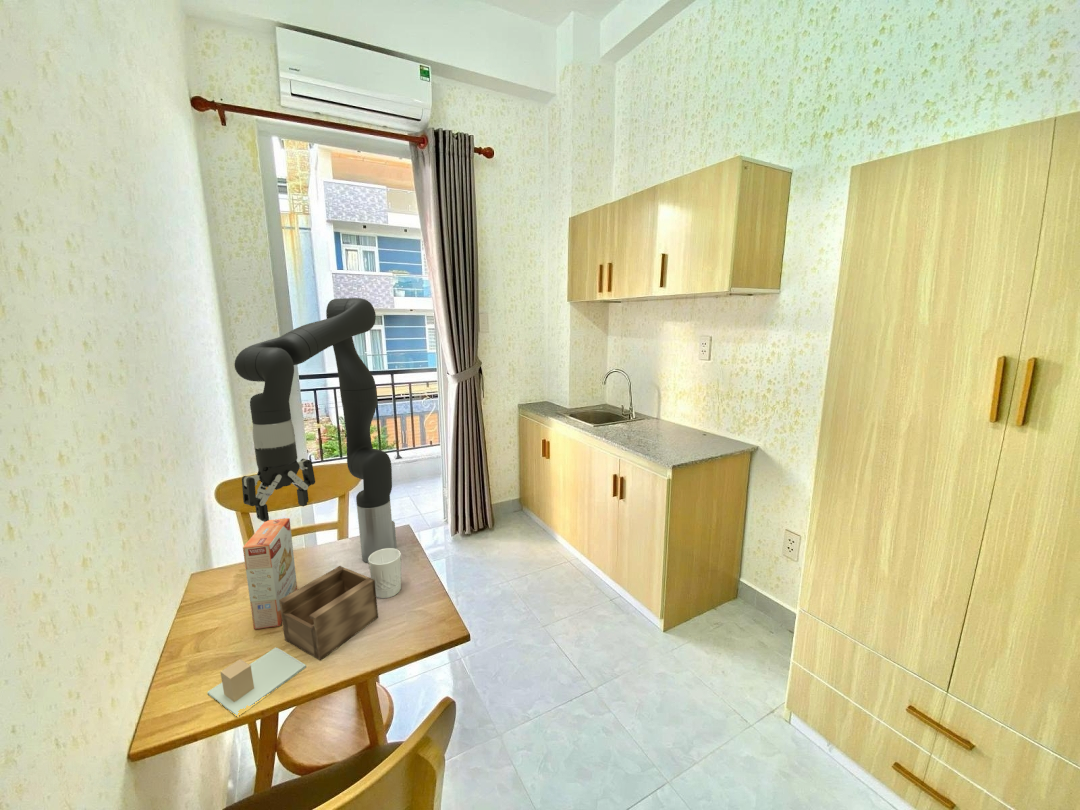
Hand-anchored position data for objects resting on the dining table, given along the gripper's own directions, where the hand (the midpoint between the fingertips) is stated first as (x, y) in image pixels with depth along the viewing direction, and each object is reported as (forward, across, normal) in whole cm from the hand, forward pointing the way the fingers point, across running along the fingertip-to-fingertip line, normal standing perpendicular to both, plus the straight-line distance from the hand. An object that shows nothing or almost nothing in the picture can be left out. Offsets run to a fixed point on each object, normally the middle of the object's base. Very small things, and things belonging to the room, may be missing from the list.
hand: (284, 512), depth 95 cm
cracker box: (+28, -1, -10) cm, 30 cm away
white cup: (+28, -19, +8) cm, 35 cm away
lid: (+29, +13, +8) cm, 33 cm away
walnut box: (+28, -3, +8) cm, 29 cm away
